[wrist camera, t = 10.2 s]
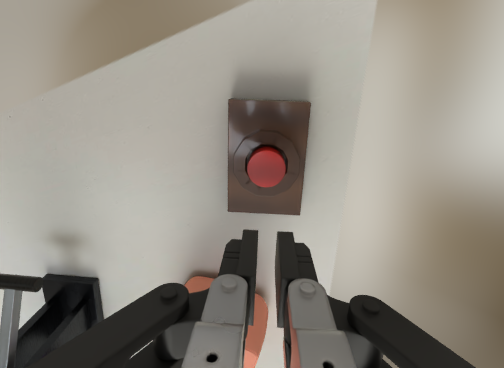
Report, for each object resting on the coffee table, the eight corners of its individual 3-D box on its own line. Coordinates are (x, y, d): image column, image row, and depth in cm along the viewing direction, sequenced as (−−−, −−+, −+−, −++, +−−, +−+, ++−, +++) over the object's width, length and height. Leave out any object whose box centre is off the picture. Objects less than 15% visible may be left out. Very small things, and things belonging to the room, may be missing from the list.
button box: (231, 98, 30) (225, 100, 26) (307, 101, 30) (314, 103, 26) (230, 204, 34) (225, 218, 30) (297, 207, 33) (301, 222, 30)
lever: (1, 270, 30) (-21, 276, 28) (47, 274, 30) (29, 281, 28) (-12, 396, 30) (-36, 414, 27) (35, 400, 30) (15, 419, 27)
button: (248, 145, 28) (247, 149, 26) (285, 147, 28) (287, 151, 26) (247, 180, 29) (246, 186, 27) (283, 182, 29) (284, 188, 27)
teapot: (166, 337, 41) (134, 417, 31) (199, 233, 35) (174, 291, 25) (241, 360, 42) (233, 445, 32) (286, 262, 36) (294, 328, 26)
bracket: (47, 273, 38) (-66, 370, 25) (98, 278, 38) (11, 377, 25) (58, 331, 42) (-36, 442, 29) (105, 335, 41) (32, 449, 28)
